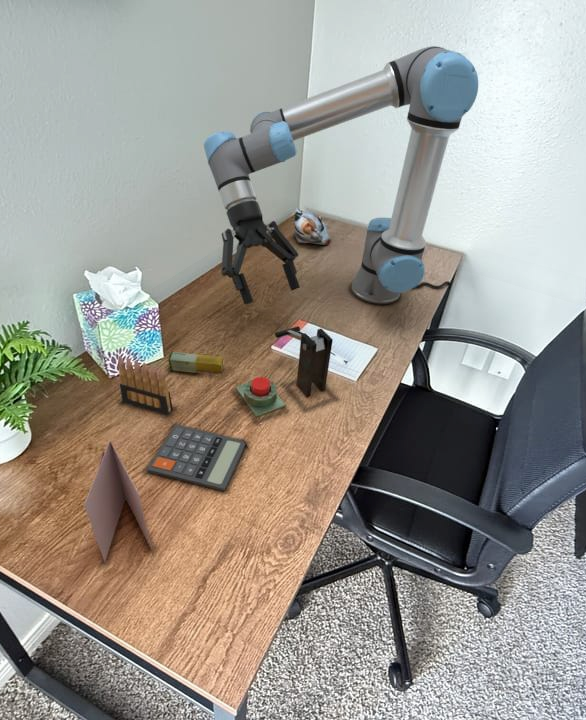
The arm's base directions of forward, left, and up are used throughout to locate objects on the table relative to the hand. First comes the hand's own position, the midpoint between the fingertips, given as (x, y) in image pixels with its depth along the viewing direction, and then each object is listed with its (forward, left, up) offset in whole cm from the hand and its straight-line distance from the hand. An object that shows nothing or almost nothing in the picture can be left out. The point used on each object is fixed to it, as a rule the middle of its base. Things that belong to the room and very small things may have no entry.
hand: (273, 296), depth 106 cm
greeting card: (+37, +39, -16) cm, 56 cm away
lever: (-3, +12, -5) cm, 14 cm away
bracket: (-4, +17, -16) cm, 24 cm away
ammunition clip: (+31, +11, -16) cm, 36 cm away
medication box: (+19, +3, -16) cm, 25 cm away
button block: (+8, +17, -16) cm, 25 cm away
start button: (+8, +17, -12) cm, 22 cm away
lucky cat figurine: (-35, -57, -16) cm, 69 cm away
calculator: (+24, +28, -16) cm, 40 cm away
